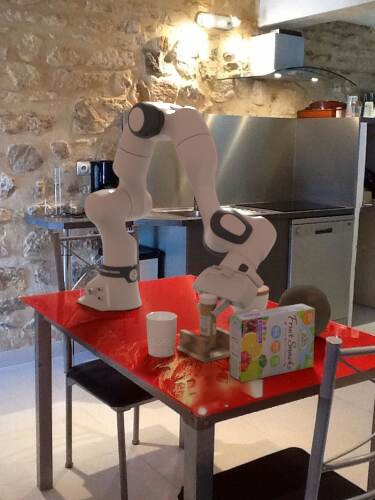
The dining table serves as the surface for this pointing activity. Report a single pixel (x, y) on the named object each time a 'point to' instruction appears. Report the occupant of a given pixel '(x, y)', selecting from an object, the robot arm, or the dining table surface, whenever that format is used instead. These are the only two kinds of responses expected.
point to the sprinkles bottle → (208, 318)
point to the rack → (205, 345)
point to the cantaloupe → (309, 303)
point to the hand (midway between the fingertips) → (206, 312)
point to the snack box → (271, 341)
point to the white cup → (161, 333)
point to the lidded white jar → (256, 301)
